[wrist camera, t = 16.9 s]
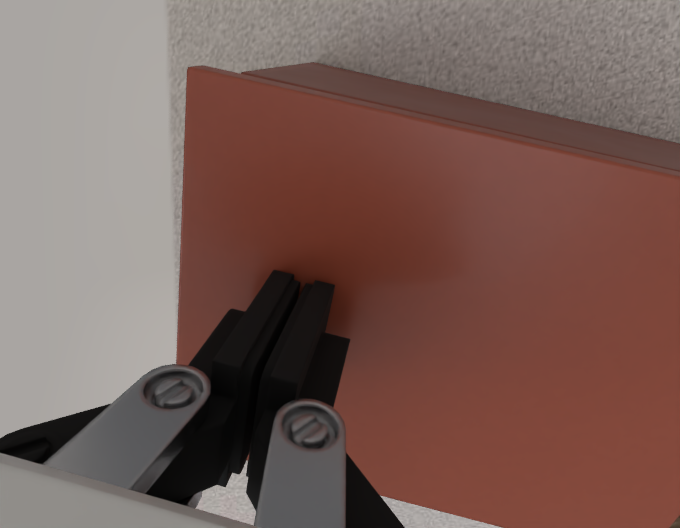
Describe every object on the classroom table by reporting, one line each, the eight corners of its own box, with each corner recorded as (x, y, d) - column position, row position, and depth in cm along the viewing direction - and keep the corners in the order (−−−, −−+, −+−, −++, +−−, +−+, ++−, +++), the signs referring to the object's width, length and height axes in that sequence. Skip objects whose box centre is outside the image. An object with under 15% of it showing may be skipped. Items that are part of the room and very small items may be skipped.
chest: (274, 308, 23) (209, 422, 16) (311, 61, 18) (239, 71, 11) (564, 383, 22) (628, 538, 15) (693, 146, 17) (881, 216, 10)
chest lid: (183, 424, 16) (172, 442, 15) (200, 64, 11) (185, 65, 10) (629, 540, 15) (640, 564, 14) (883, 217, 10) (920, 230, 9)
